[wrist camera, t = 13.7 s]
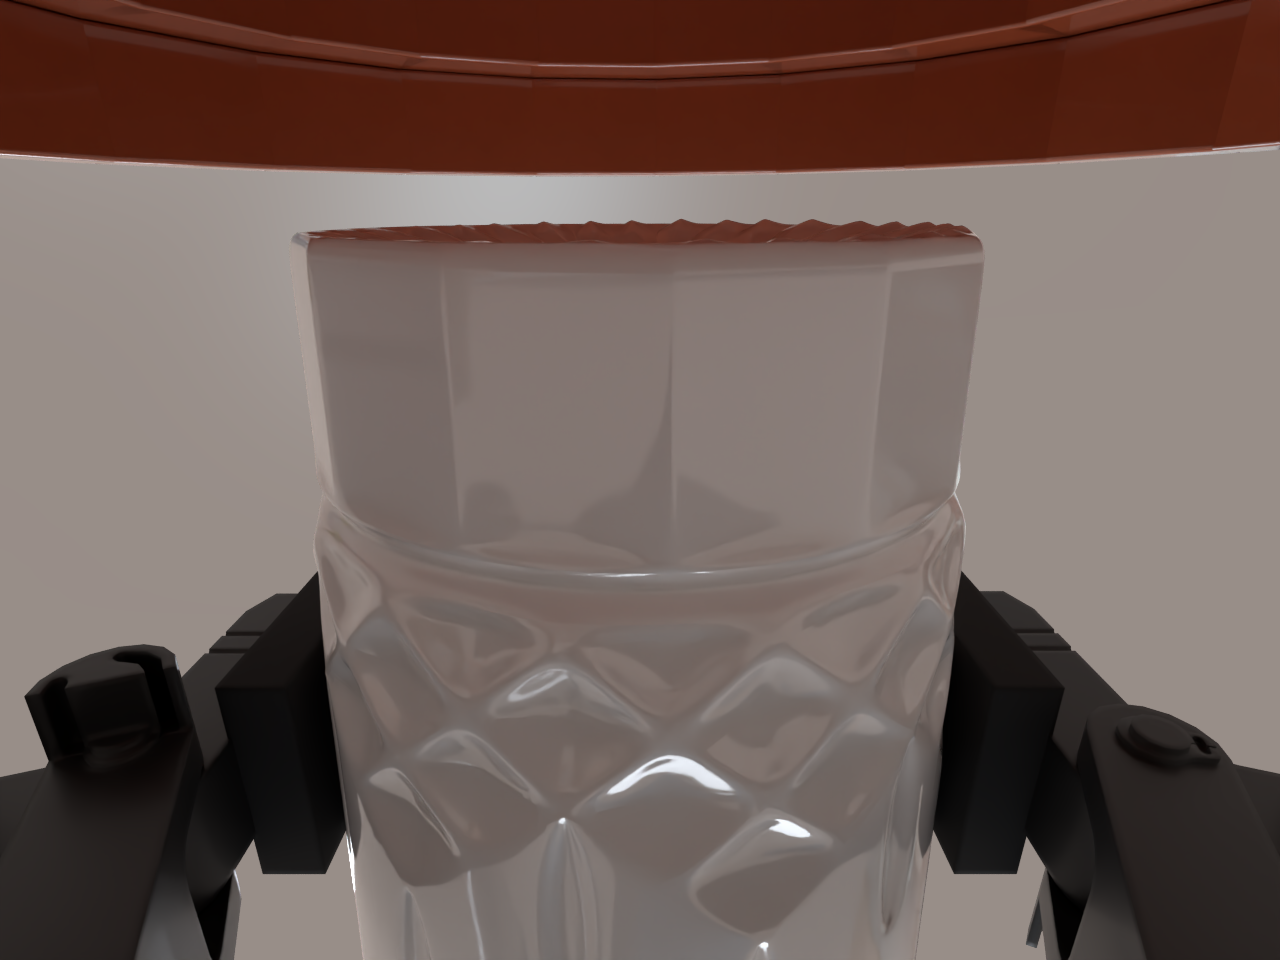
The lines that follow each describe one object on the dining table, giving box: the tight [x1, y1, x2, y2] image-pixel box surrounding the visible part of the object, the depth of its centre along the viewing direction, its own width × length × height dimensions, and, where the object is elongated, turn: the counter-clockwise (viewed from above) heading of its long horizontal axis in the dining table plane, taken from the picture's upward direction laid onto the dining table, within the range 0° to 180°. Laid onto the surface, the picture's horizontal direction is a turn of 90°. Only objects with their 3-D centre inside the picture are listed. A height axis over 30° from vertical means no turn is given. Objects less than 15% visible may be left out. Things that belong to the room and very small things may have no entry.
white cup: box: [289, 219, 984, 960], centre depth 9 cm, size 8×8×10 cm
